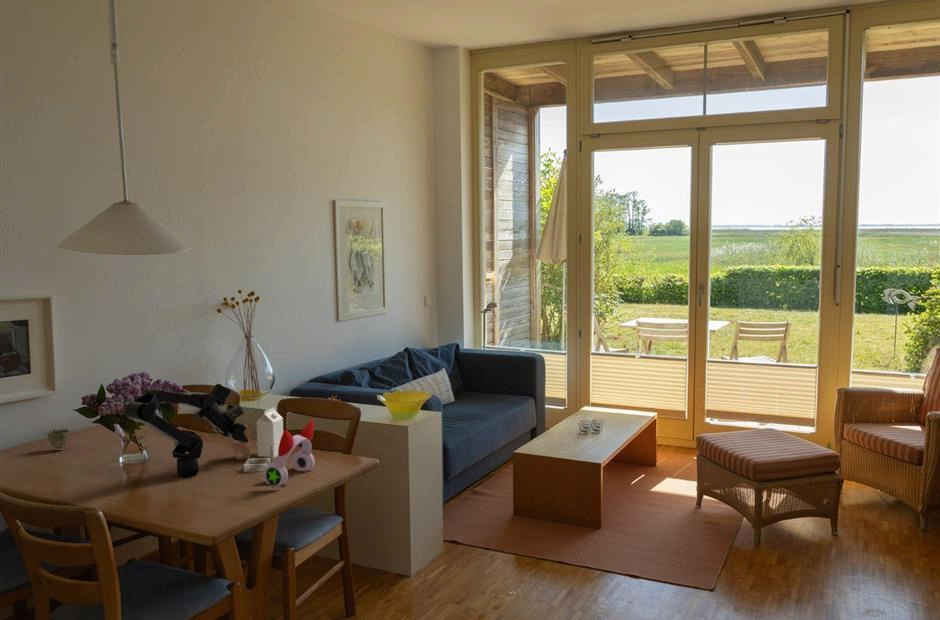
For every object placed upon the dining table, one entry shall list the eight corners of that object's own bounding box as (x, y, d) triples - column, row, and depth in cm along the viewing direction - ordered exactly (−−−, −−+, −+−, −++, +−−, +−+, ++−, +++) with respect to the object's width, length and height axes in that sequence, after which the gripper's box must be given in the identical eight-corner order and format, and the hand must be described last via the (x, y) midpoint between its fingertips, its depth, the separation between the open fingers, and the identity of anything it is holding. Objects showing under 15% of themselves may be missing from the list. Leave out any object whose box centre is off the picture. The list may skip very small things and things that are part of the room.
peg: (238, 459, 287) (237, 427, 286) (233, 457, 291) (232, 425, 290) (249, 457, 290) (248, 426, 289) (244, 454, 294) (243, 424, 293)
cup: (55, 448, 311) (54, 428, 310) (73, 448, 311) (72, 428, 310) (44, 453, 304) (43, 433, 303) (62, 453, 303) (61, 433, 303)
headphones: (296, 471, 278) (294, 416, 276) (319, 473, 274) (318, 418, 272) (263, 487, 259) (261, 429, 257) (287, 490, 256) (286, 431, 254)
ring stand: (257, 479, 268) (256, 452, 267) (232, 474, 274) (231, 448, 273) (282, 470, 278) (281, 444, 277) (257, 465, 284) (256, 440, 283)
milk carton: (257, 460, 292) (256, 410, 290) (268, 454, 299) (266, 406, 297) (274, 461, 290) (272, 411, 288) (284, 456, 296) (282, 407, 295)
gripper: (240, 402, 279) (269, 427, 287) (219, 395, 293) (248, 419, 301) (220, 427, 274) (250, 452, 283) (199, 418, 289) (229, 442, 297)
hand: (244, 440), depth 291 cm, fingers closed on peg, 4 cm apart
